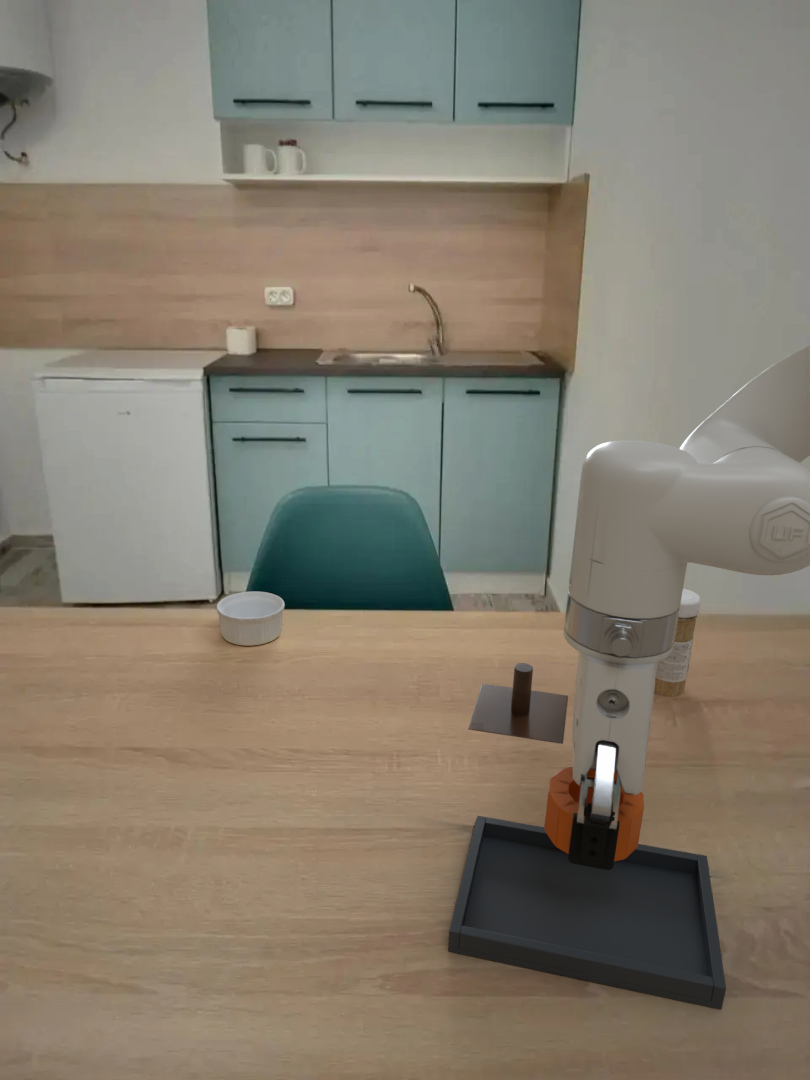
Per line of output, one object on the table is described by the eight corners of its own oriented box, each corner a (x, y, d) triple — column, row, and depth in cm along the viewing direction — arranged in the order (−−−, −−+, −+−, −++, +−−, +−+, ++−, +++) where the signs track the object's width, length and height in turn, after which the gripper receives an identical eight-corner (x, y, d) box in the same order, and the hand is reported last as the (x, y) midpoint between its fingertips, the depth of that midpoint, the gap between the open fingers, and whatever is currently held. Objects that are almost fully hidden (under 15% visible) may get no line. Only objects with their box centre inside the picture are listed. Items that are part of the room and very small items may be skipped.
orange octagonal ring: (636, 810, 66) (642, 773, 65) (638, 871, 60) (645, 831, 59) (548, 795, 68) (552, 758, 67) (541, 852, 61) (545, 813, 60)
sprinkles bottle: (648, 684, 101) (663, 583, 96) (687, 694, 99) (704, 591, 94) (640, 702, 97) (655, 597, 92) (680, 712, 95) (698, 605, 90)
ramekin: (221, 619, 114) (219, 591, 113) (286, 618, 115) (285, 589, 114) (214, 650, 106) (212, 619, 105) (284, 648, 107) (283, 617, 106)
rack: (567, 706, 96) (572, 652, 93) (561, 755, 86) (568, 697, 84) (481, 694, 98) (484, 640, 95) (467, 741, 88) (470, 683, 86)
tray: (703, 874, 71) (706, 855, 70) (721, 1009, 58) (726, 988, 58) (476, 833, 75) (477, 815, 74) (447, 951, 62) (449, 931, 62)
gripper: (685, 690, 49) (645, 924, 55) (668, 580, 65) (639, 771, 71) (557, 672, 50) (532, 901, 57) (571, 569, 66) (550, 757, 73)
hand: (591, 827), depth 64 cm, fingers closed on orange octagonal ring, 7 cm apart
